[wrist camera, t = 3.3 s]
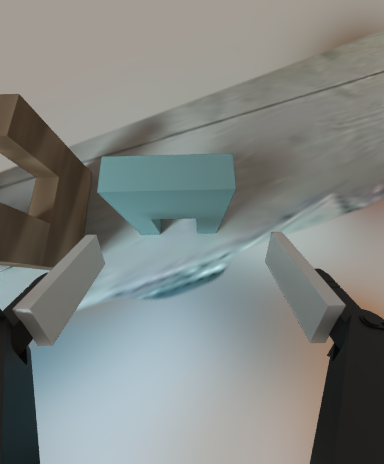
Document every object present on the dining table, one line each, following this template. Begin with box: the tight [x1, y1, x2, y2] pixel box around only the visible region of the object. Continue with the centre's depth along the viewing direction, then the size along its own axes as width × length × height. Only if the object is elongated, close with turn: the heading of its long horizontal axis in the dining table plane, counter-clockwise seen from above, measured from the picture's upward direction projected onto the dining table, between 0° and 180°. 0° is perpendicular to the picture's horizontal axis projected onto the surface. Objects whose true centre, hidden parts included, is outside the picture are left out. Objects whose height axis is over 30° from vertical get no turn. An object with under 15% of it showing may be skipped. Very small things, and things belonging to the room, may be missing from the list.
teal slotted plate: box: [97, 154, 236, 235], centre depth 20 cm, size 10×3×12 cm, turn 91°
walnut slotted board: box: [0, 94, 92, 270], centre depth 20 cm, size 2×14×12 cm, turn 1°
